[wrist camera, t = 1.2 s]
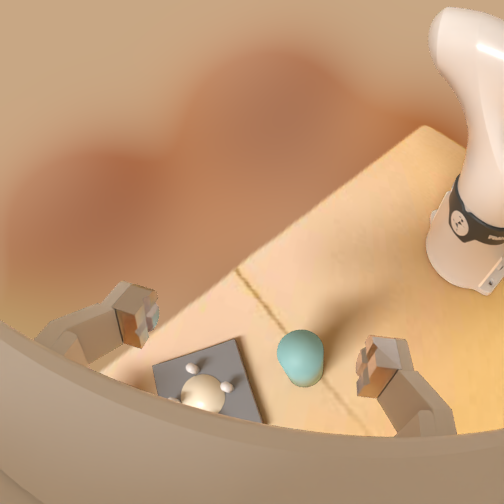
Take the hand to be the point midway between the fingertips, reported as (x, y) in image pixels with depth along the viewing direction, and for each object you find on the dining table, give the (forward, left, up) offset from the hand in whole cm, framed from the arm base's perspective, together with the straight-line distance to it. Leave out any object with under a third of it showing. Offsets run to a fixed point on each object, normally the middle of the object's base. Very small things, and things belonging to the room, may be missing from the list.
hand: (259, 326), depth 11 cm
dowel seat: (+13, -5, -32) cm, 35 cm away
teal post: (-2, -4, -32) cm, 33 cm away
